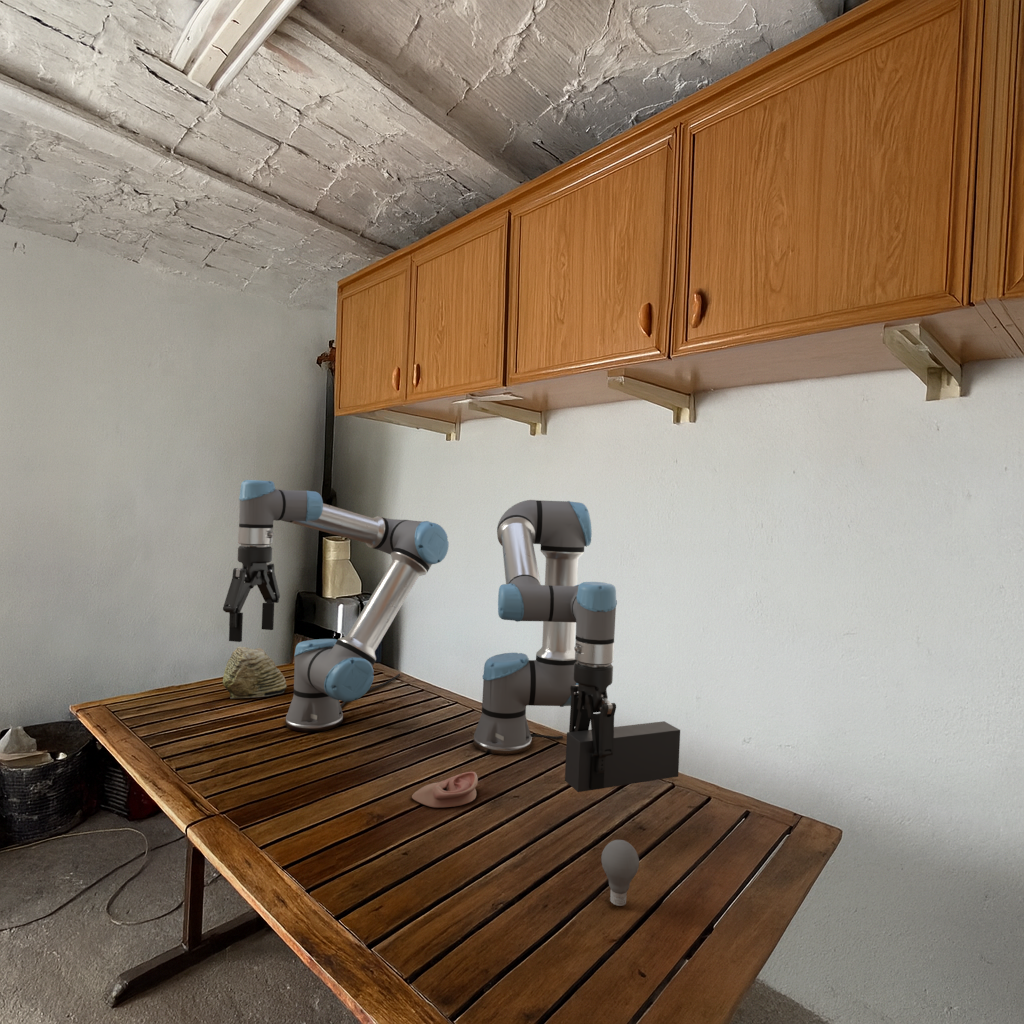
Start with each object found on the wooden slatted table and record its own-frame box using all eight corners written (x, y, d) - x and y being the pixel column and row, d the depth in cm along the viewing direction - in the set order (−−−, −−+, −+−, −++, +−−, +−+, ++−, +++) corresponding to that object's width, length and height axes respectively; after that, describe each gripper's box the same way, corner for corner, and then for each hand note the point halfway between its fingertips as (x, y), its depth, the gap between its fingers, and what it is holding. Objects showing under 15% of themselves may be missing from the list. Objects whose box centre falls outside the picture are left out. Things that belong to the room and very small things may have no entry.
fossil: (218, 695, 195) (220, 647, 195) (278, 685, 208) (279, 640, 207) (228, 703, 189) (230, 653, 188) (289, 692, 201) (290, 645, 201)
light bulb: (595, 892, 105) (598, 832, 105) (631, 891, 105) (634, 832, 105) (604, 915, 99) (607, 852, 99) (641, 915, 99) (644, 852, 99)
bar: (662, 766, 133) (664, 721, 133) (678, 776, 128) (680, 729, 128) (564, 780, 124) (566, 732, 124) (577, 792, 119) (580, 742, 119)
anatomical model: (407, 784, 132) (425, 763, 143) (406, 803, 132) (424, 780, 143) (468, 793, 129) (482, 770, 140) (467, 812, 129) (481, 788, 141)
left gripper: (239, 550, 136) (236, 648, 137) (296, 543, 161) (292, 626, 161) (207, 548, 138) (204, 645, 138) (268, 541, 162) (265, 624, 163)
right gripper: (555, 652, 130) (550, 764, 130) (601, 676, 113) (595, 805, 113) (586, 650, 133) (581, 760, 133) (637, 673, 116) (631, 799, 116)
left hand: (252, 635), depth 150 cm, fingers open, 13 cm apart
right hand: (588, 781), depth 123 cm, fingers closed on bar, 5 cm apart
